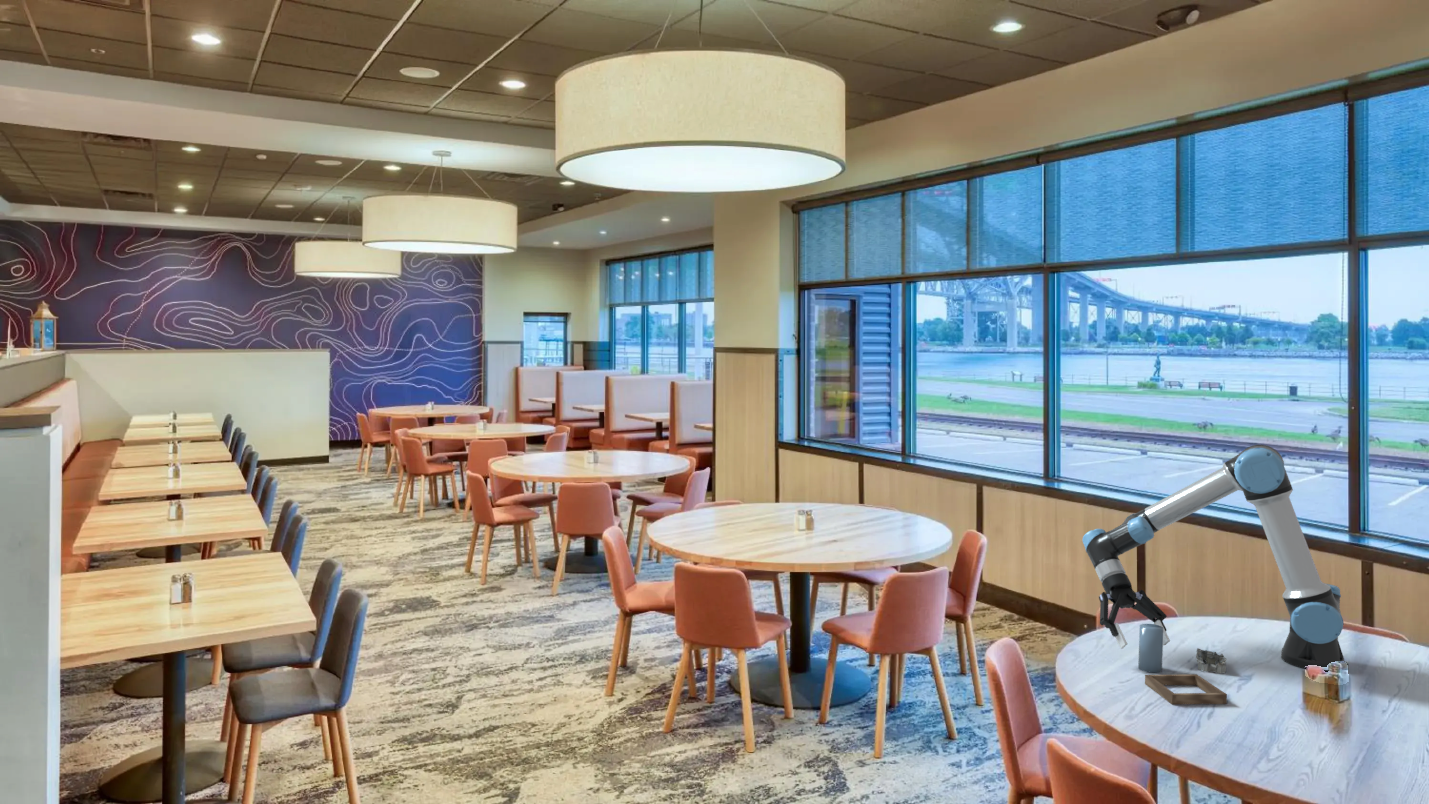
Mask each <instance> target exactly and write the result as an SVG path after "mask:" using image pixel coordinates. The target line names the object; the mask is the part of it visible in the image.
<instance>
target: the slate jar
mask: <svg viewBox="0 0 1429 804" xmlns="http://www.w3.org/2000/svg"><path fill="white" fill-rule="evenodd" d="M1138 635H1139V636H1138V637H1139V639H1138V665H1137V668H1138V670H1140V671H1143V672H1146V673H1149V674H1150V673H1151V674H1159V673H1161V672H1162V671H1163V652H1164V651H1163V649H1164V645H1163V627H1161V626H1159V625H1155V624H1154V623H1142V624H1139V634H1138Z"/></svg>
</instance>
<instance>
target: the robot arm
mask: <svg viewBox="0 0 1429 804" xmlns="http://www.w3.org/2000/svg"><path fill="white" fill-rule="evenodd" d="M1237 491H1239V492H1240V491H1242V493H1243V495H1244V498H1245V500H1246V501H1247V502H1248V503H1249V504H1252V505H1254V507H1255V509H1256V512H1257V516H1258V517H1259V520H1260V522H1261V525H1262V528H1263V531H1264V534H1265V536H1266V538H1267V541H1268V543H1269V544H1268V545H1269V546H1270V549H1271V553H1272V555H1273V557H1274V560H1275V563H1276V566H1277V567H1278V570H1279V573H1280V576H1281V579H1282V581H1283V584H1284V586H1285V590H1284V592H1283V593H1282V598H1283V602H1284V604H1285V607H1286V610H1287V612H1288V615H1289V632H1288V635H1287V637H1286V640H1285V642H1284V645H1283V647H1282V648H1281V650H1280V651H1281V655H1280V658H1281V660H1282V661H1284V662H1285V663H1287V664H1289V665H1292V666H1295V667H1299V668H1302V669H1305V668H1304V667H1305V666H1308V665H1317V666H1321V667H1327V665H1328V664H1329V663H1331V662H1335V661H1344V662H1345V656H1344V655H1343V651H1342V648H1341V645H1340V642H1339V636H1340V635H1341V633H1342V631H1343V628H1344V619H1343V616H1342V613H1341V609H1340V608H1341V607H1340V605H1341V604H1340V603H1341V598H1342V595H1341V589H1340V587H1338V585H1334V584H1330V583H1325V582H1323V581H1322V580H1321V577H1320V574H1319V572H1318V569H1317V567H1316V564H1315V561H1314V559H1313V556H1312V554H1311V551H1310V549H1309V546H1308V543H1307V540H1306V538H1305V535H1304V533H1303V530H1302V527H1301V525H1300V522H1299V520H1298V516H1297V514H1296V512H1295V509H1294V507H1293V504H1292V502H1291V501H1292V500H1291V499H1290V496H1291V494H1292V493H1293V491H1294V489H1293V486H1292V483H1291V481H1290V478H1289V476H1288V474H1287V470H1286V468H1285V462H1284V458H1283V457H1282V455H1281V453H1280V452H1279V451H1278V450H1276V448H1273V447H1272V446H1269V445H1267V444H1266V445H1265V444H1254V445H1250V446H1248V447H1246V448H1245V449H1243V450H1241V452H1239V453H1238V454H1237V455H1235V456H1234V457H1232V458H1230V459H1228V460H1226V461H1224V462H1223V465H1222V467H1220V468H1219V469H1217V470H1215V471H1214V472H1211V473H1210V474H1208V475H1206V476H1204V477H1203V478H1200V479H1198V480H1196V481H1195V482H1193V483H1191V484H1189V485H1187V486H1185V487H1183V488H1180V489H1179V490H1177V491H1175V492H1173V493H1172V494H1170V495H1168V496H1166V497H1164V498H1162V499H1161V500H1158V501H1157V502H1154V503H1152V504H1151V505H1149V506H1147V507H1146V508H1144V509H1141V510H1139V511H1137V512H1136V513H1131V514H1130V515H1128V516H1127V517H1126V518H1125V519H1124V521H1123V522H1121V523H1122V524H1120V525H1118V526H1117V527H1114V528H1113V529H1111V530H1109V531H1105V530H1104V529H1103V528H1095V529H1093V530H1092V529H1090V530H1089V531H1087V532H1086V533H1085V534H1084V535H1083V536H1082V539H1081V540H1082V541H1081V542H1082V543H1083V546H1084V549H1085V553H1086V554H1087V556H1088V557H1089V560H1090V562H1091V564H1092V566H1093V568H1094V569H1095V572H1096V575H1097V576H1098V579H1099V581H1100V582H1101V585H1102V588H1103V589H1104V591H1103V592H1101V594H1100V595H1099V596H1098V600H1099V604H1100V606H1099V607H1100V609H1099V610H1100V611H1099V624H1100V625H1101V626H1105V628H1106V629H1109V632H1110V633H1111V636H1112V637H1113V638H1115V640H1116V641H1117V644H1118V647H1119V649H1120V650H1122V649H1124V648H1125V647H1126V646H1127V645H1128V642H1127V639H1126V638H1125V636H1124V634H1123V631H1122V630H1121V626H1120V625H1119V623H1118V622H1116V619H1117V615H1118V613H1119V610H1120V609H1125V608H1126V609H1132V610H1136V611H1138V612H1139V613H1140V614H1142V615H1143V616H1144V617H1146V618H1147V619H1149V620H1150V621H1151V622H1152V623H1153V624H1155V625H1159V626H1161V627H1163V646H1166V645H1167V644H1169V643H1170V641H1171V640H1170V638H1169V636H1168V634H1167V631H1168V630H1167V628H1166V626H1165V624H1164V622H1163V621H1164V620H1165V619H1166V618H1167V617H1168V616H1167V614H1166V613H1165V612H1164V611H1163V610H1162V609H1161V608H1160V607H1158V605H1156V603H1155V602H1154V601H1153V600H1152V599H1151V598H1150V597H1149V596H1148V595H1147V594H1146V592H1145V591H1144V590H1143V589H1140V590H1139V591H1134V589H1133V587H1132V583H1131V581H1130V579H1129V577H1128V575H1127V574H1126V570H1125V568H1124V566H1123V565H1122V562H1121V560H1120V559H1119V556H1121V555H1123V554H1124V553H1127V552H1128V551H1131V550H1133V549H1135V548H1137V547H1139V546H1141V545H1144V544H1146V543H1147V542H1148V541H1151V540H1153V538H1154V537H1155V533H1157V532H1158V531H1160V530H1162V529H1165V528H1166V527H1168V526H1170V525H1172V524H1174V523H1176V522H1178V521H1180V520H1182V519H1184V518H1186V517H1188V516H1189V515H1192V514H1193V513H1196V512H1198V511H1199V510H1201V509H1204V508H1205V507H1207V506H1210V505H1212V504H1213V503H1215V502H1217V501H1220V500H1221V499H1224V498H1226V497H1228V496H1229V495H1231V494H1234V493H1236V492H1237ZM1246 501H1245V502H1246ZM1109 601H1111V602H1112V606H1111V610H1110V612H1109Z"/></svg>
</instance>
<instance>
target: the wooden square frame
mask: <svg viewBox="0 0 1429 804" xmlns="http://www.w3.org/2000/svg"><path fill="white" fill-rule="evenodd" d="M1144 684H1145V686H1147V687H1148V688H1149V689H1151V690H1152V691H1153V692H1155V693H1156V694H1157V695H1159V696H1160V697H1161V698H1163V699H1164V700H1166V701H1167V702H1168V703H1170V704H1171V705H1227V704H1228V702H1227V699H1228V694H1227V693H1226V692H1225V691H1222V689H1220V688H1218V687H1217V686H1215V685H1214V684H1212V683H1211V682H1209V681H1207V680H1206V679H1204V678H1203V677H1201V676H1200V675H1198V674H1197V673H1196V674H1195V673H1193V674H1185V673H1184V674H1182V673H1181V674H1144ZM1167 686H1196V687H1197V688H1198V689H1200V690H1202V692H1190V693H1189V692H1188V693H1187V692H1183V693H1182V692H1179V693H1178V692H1177V693H1176V692H1173V691H1172V690H1171V689H1169V688H1167Z"/></svg>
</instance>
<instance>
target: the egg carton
mask: <svg viewBox="0 0 1429 804" xmlns="http://www.w3.org/2000/svg"><path fill="white" fill-rule="evenodd" d="M1195 659H1196V662H1197V669H1198V670H1199V671H1202V672H1205V673H1208V672H1214V673H1216V674H1219V675H1221V674H1226V670H1227V665H1226V663H1227V662H1226V661H1227V658H1226V657H1225V655H1224V654H1223V653H1220V654H1218V653H1217V651H1215V652H1214V651H1211V650H1207V649H1205V650H1204V649H1201V648H1197V649H1196V655H1195Z"/></svg>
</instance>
